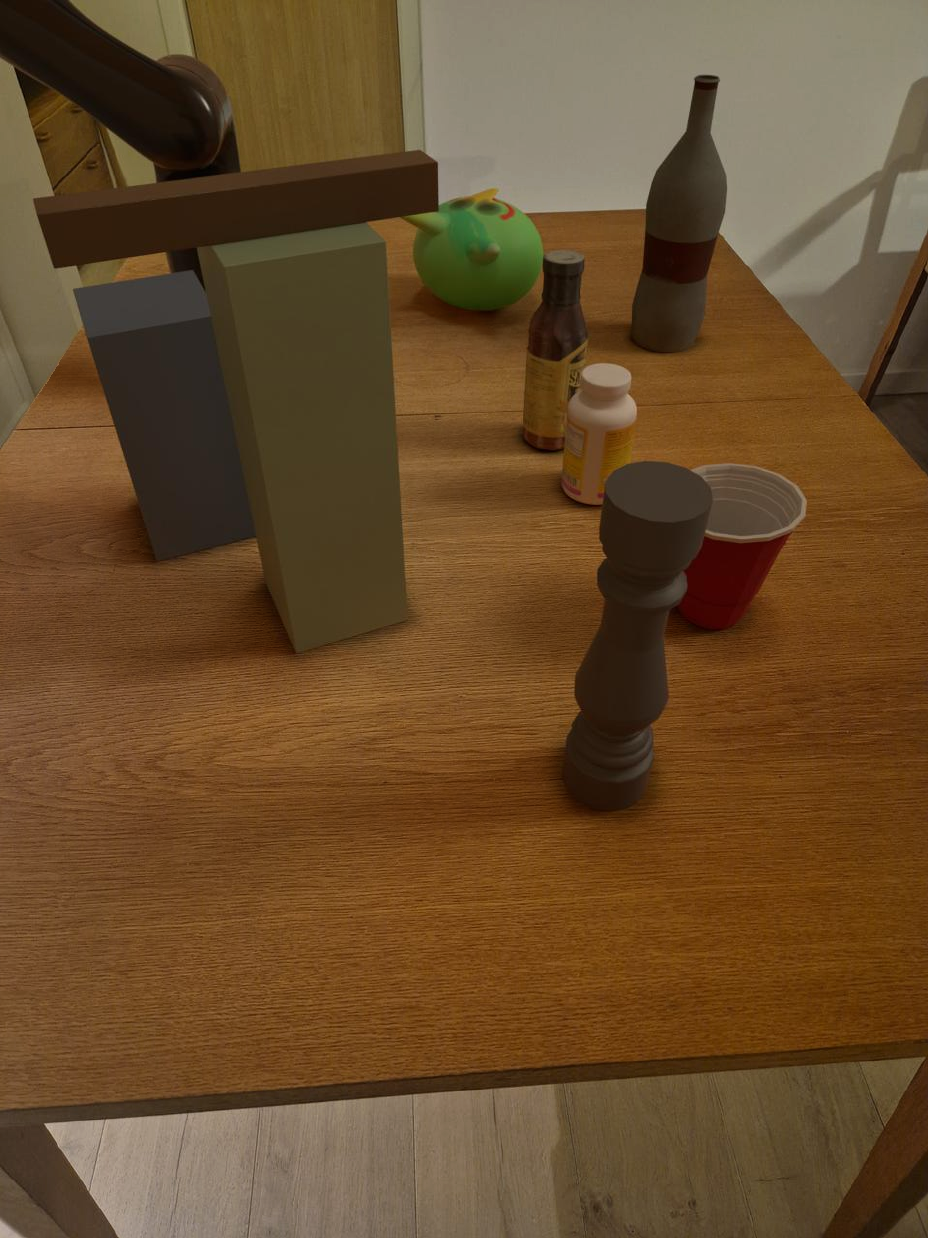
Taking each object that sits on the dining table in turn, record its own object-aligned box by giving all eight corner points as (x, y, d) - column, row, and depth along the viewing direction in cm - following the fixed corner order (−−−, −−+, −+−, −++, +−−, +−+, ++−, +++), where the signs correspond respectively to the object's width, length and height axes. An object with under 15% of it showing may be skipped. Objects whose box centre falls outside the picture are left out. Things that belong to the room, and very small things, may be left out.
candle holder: (555, 744, 65) (589, 460, 48) (636, 739, 65) (699, 455, 48) (569, 814, 60) (613, 528, 43) (656, 808, 61) (733, 522, 44)
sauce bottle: (574, 456, 94) (593, 272, 80) (517, 449, 95) (527, 267, 81) (580, 425, 98) (599, 247, 85) (526, 419, 99) (536, 242, 86)
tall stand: (296, 653, 72) (223, 266, 50) (265, 582, 78) (189, 212, 57) (408, 620, 75) (386, 240, 53) (369, 553, 81) (335, 192, 60)
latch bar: (54, 269, 50) (36, 214, 47) (49, 251, 52) (32, 197, 49) (439, 211, 57) (438, 161, 55) (421, 197, 59) (420, 149, 57)
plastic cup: (670, 553, 82) (693, 443, 73) (784, 592, 78) (822, 480, 69) (625, 622, 75) (645, 509, 67) (748, 668, 71) (786, 553, 63)
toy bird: (559, 298, 124) (567, 188, 114) (499, 343, 113) (502, 227, 103) (454, 271, 131) (453, 166, 121) (388, 311, 120) (381, 200, 110)
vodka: (690, 323, 118) (739, 67, 97) (706, 354, 111) (761, 86, 91) (622, 324, 118) (656, 67, 97) (634, 355, 111) (673, 87, 90)
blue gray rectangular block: (156, 561, 81) (86, 337, 65) (139, 504, 87) (72, 288, 72) (262, 534, 84) (218, 314, 68) (237, 481, 90) (192, 269, 75)
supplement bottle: (630, 477, 91) (649, 364, 82) (617, 513, 86) (635, 396, 77) (568, 466, 92) (580, 353, 84) (553, 500, 88) (563, 384, 79)
